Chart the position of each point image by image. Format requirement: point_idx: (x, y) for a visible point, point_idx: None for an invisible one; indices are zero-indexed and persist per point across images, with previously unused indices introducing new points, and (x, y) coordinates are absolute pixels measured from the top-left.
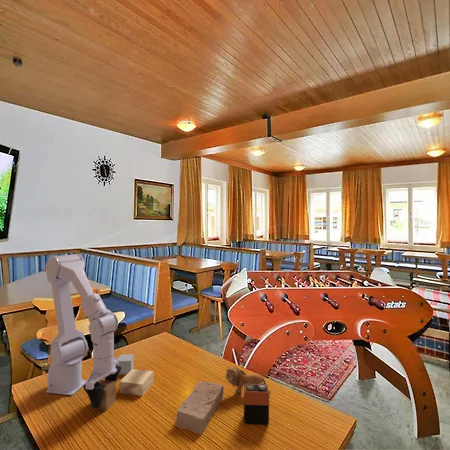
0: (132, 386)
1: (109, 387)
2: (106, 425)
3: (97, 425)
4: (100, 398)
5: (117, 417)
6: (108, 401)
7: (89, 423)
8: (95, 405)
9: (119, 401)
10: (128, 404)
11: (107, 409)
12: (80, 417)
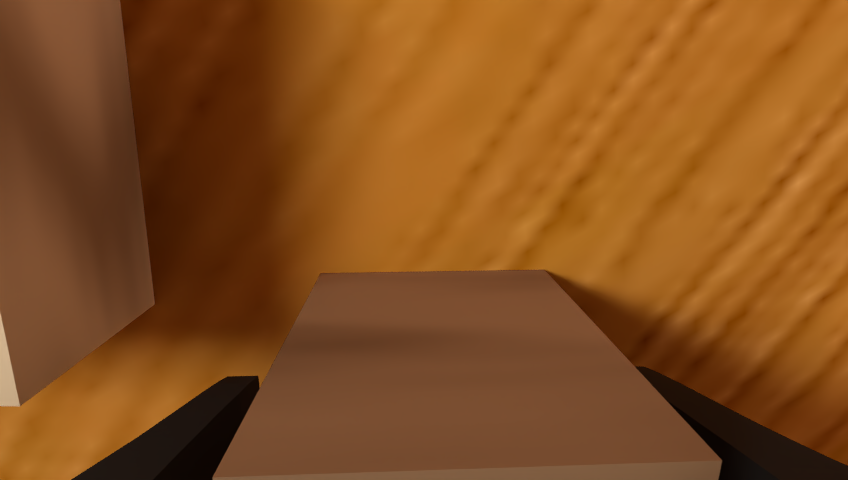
0: (22, 78)
1: (561, 471)
2: (809, 119)
3: (803, 229)
4: (753, 441)
5: (660, 51)
6: (527, 308)
7: (766, 334)
8: None
9: (335, 205)
10: (371, 32)
11: (523, 271)
12: None
